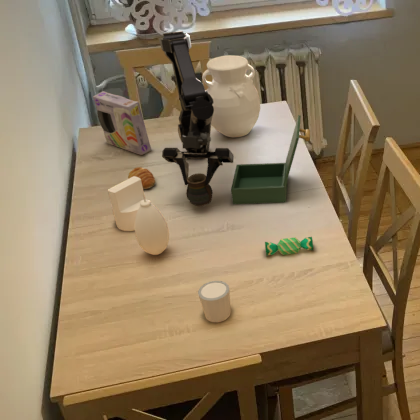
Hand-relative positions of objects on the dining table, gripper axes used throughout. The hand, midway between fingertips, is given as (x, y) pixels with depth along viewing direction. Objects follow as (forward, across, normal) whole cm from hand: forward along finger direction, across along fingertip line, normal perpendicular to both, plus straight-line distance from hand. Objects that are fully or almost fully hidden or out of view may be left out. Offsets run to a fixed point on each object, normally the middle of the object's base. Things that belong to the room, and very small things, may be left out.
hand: (196, 185), depth 181 cm
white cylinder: (+36, +15, -25) cm, 46 cm away
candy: (+19, +28, -8) cm, 35 cm away
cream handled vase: (-29, 0, +42) cm, 51 cm away
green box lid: (-12, +25, +5) cm, 28 cm away
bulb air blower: (+20, -6, -9) cm, 23 cm away
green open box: (-2, +16, +14) cm, 21 cm away
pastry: (-5, -21, +17) cm, 27 cm away
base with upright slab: (+10, -17, +1) cm, 20 cm away
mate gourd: (+4, 0, +6) cm, 7 cm away
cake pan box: (-21, -34, +33) cm, 52 cm away
